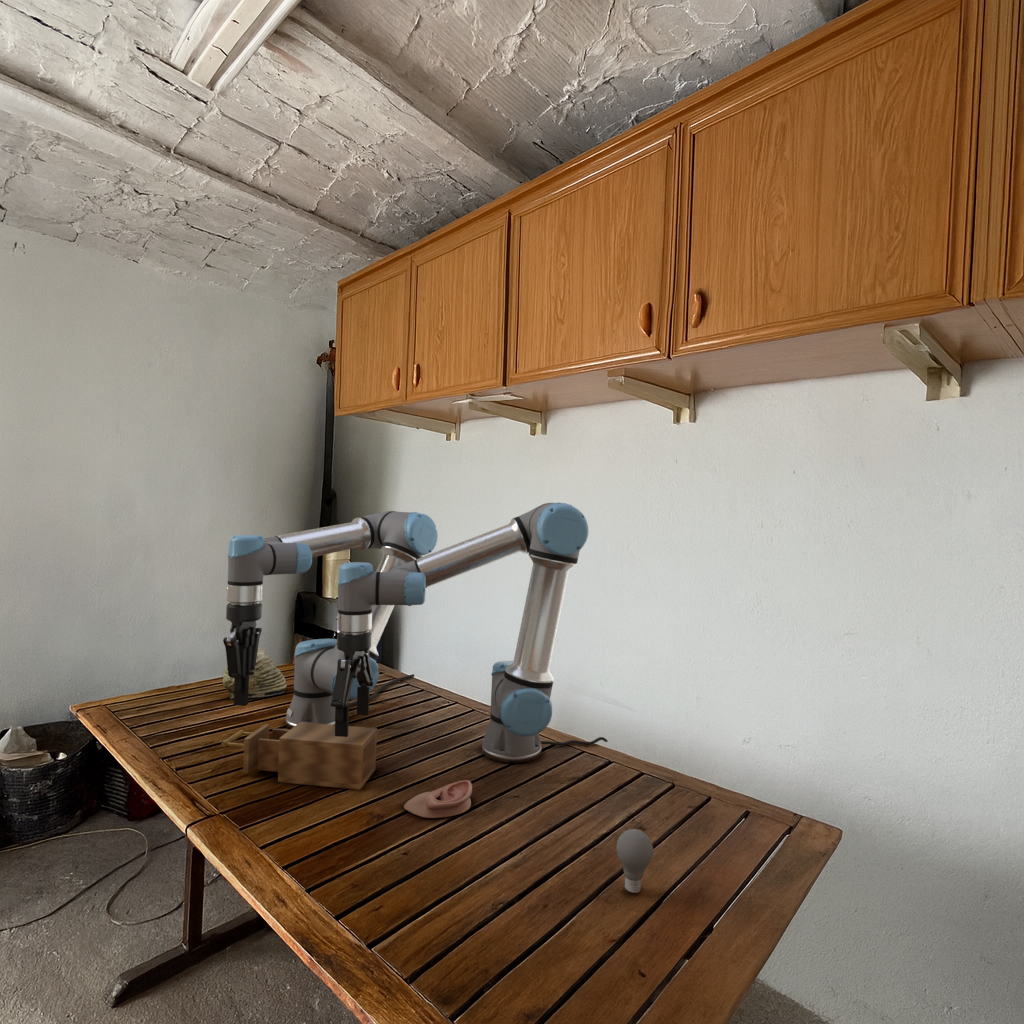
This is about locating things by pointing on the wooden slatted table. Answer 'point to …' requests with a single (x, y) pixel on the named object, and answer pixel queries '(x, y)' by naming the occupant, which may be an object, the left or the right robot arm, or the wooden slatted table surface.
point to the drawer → (259, 748)
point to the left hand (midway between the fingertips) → (240, 704)
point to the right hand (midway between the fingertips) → (352, 725)
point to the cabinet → (327, 756)
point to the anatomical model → (442, 801)
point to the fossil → (260, 678)
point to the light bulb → (634, 857)
